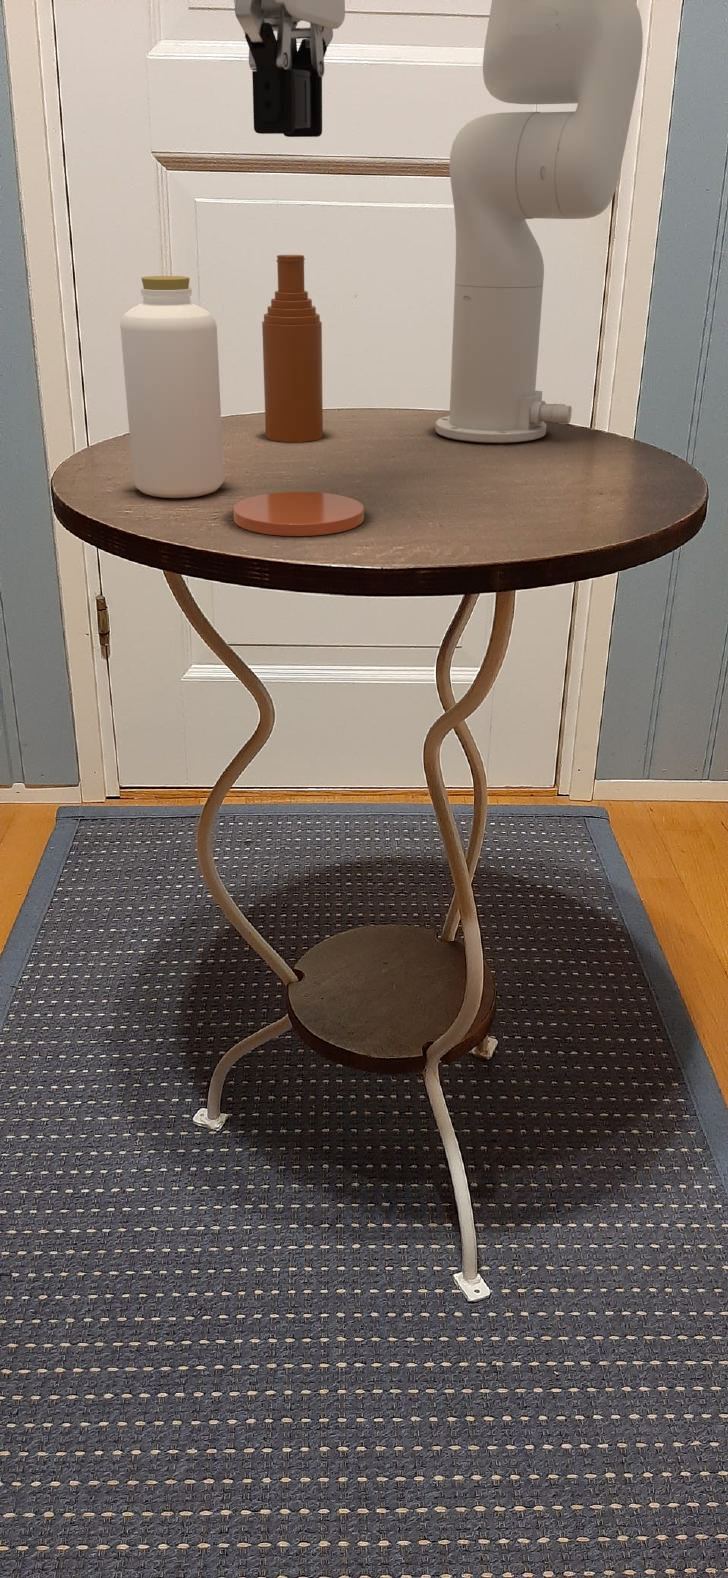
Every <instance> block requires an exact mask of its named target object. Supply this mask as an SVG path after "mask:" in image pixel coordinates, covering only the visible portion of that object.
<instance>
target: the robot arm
mask: <svg viewBox="0 0 728 1578" xmlns="http://www.w3.org/2000/svg"><path fill="white" fill-rule="evenodd" d="M233 3H234V14H235V17H236V19H237V21H238V22H239V24H240V27H241V28H242V31H243V33H244V38H245V40H246V43H247V46H248V65H249V68H250V70H251V71H252V73H251V75H252V77H251V78H252V110H253V112H252V113H253V131H254V132H255V133H256V134H260V135H278V134H281V135H284V137H288V138H319V137H321V135H322V134H323V78H324V75H325V56H326V52H327V50H328V48H329V45H331V42H332V40H333V38H334V30H337V29H339V28H340V27H341V26H342V25H343V23H344V21H345V17H346V6H345V5H346V1H345V0H233ZM301 21H303V22H307V23H309V25H310V26H309V27H298V24H299V23H300V22H301ZM486 29H487V30H486V35H485V41H484V49H483V56H482V57H483V58H482V76H483V83H484V86H485V88H486V90H487V92H488V93H489V94H490V95H491V96H492V97H493V98H495V99H496V100H497V101H499V102H503V103H506V104H515V105H563V104H565V105H566V104H567V105H569V104H571V105H572V104H576V105H577V106H576V109H575V111H513V112H508V111H507V112H495V113H489V114H485V115H481V116H478V117H476V118H474V119H472V120H470V121H469V122H467V123H466V124H464V125H463V127H462V128H461V129H460V130H459V131H458V132H457V134H456V136H455V138H454V140H453V142H452V145H451V150H450V154H449V176H450V187H451V195H452V202H453V211H454V212H453V213H454V224H455V225H454V227H455V270H454V271H455V272H454V292H453V293H454V295H453V296H454V297H453V319H452V321H453V322H452V341H451V342H452V344H451V346H452V347H451V368H450V371H451V372H450V394H449V395H450V396H449V415H447V416H443V417H440V418H438V419H437V420H436V421H435V424H434V425H435V427H434V428H435V432H436V433H437V434H438V435H439V436H442V437H445V438H447V439H452V440H456V441H457V440H458V441H462V442H463V441H464V442H472V443H490V444H491V443H492V444H493V443H494V444H498V443H499V444H505V443H507V444H509V443H523V442H529V441H535V440H538V439H541V438H543V437H545V435H547V428H548V427H547V426H548V425H547V423H553V424H561V425H569V424H570V423H571V419H572V414H573V413H572V409H573V408H572V405H566V404H564V403H546V401H545V400H543V390H536V387H537V386H536V385H537V374H538V372H537V371H538V360H539V359H538V358H539V347H540V346H539V345H540V333H541V318H542V307H543V305H542V303H543V290H544V280H545V266H544V264H545V263H544V259H543V254H542V252H541V249H540V246H539V244H538V242H537V240H536V238H535V236H534V235H533V233H532V230H531V229H530V227H529V225H528V223H527V220H533V219H545V220H546V219H547V220H549V219H550V220H551V219H553V220H582V219H586V220H587V219H591V218H594V217H596V216H599V215H600V214H602V213H603V212H604V211H605V210H606V209H607V208H608V206H610V204H611V202H612V200H613V199H614V196H615V192H616V189H617V186H618V184H619V183H618V182H619V178H620V175H621V169H622V165H623V160H624V154H625V149H626V145H627V140H628V136H629V135H628V134H629V131H630V130H629V129H630V124H631V119H632V113H633V109H634V104H635V98H636V93H637V88H638V83H639V78H640V72H641V66H642V58H643V48H644V47H643V46H644V45H643V44H644V43H643V42H644V39H643V37H644V36H643V34H644V33H643V32H644V31H643V23H642V16H641V13H640V10H639V7H638V5H637V3H636V2H635V0H491V5H490V11H489V17H488V23H487V28H486ZM275 32H276V35H275ZM297 39H298V40H299V39H300V40H301V39H302V40H301V42H300V44H299V47H298V45H297V44H298V42H297ZM286 69H297V70H306V71H309V72H310V82H311V124H310V128H302V129H295V81H294V71H293V70H286ZM256 70H258V71H256ZM546 422H547V423H546Z"/></svg>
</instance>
